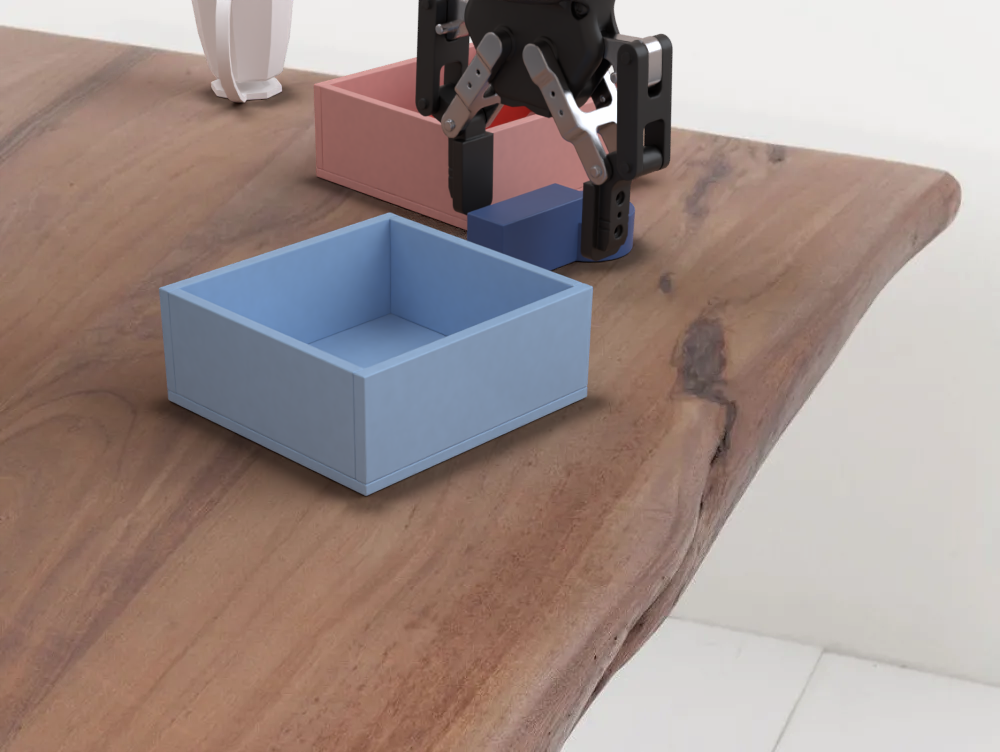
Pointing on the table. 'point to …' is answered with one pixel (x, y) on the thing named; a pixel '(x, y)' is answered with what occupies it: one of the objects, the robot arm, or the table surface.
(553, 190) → the dark blue rounded block
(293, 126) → the table surface
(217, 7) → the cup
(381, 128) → the rose bin
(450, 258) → the blue bin
